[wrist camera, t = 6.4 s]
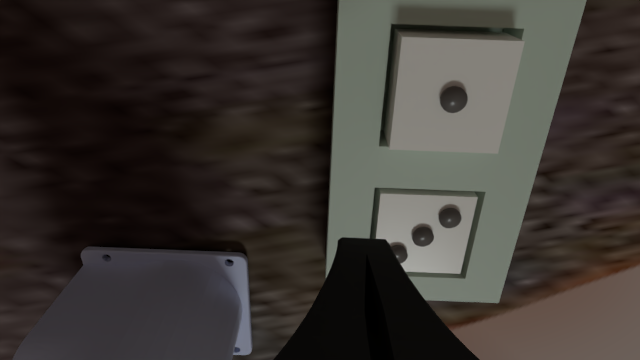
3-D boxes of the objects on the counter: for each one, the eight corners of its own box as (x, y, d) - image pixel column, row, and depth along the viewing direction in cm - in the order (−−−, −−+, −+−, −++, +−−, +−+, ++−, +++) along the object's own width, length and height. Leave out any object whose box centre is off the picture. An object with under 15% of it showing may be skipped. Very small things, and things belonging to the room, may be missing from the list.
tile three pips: (369, 246, 23) (372, 272, 22) (376, 173, 21) (381, 195, 20) (450, 249, 23) (461, 276, 22) (465, 177, 21) (479, 199, 19)
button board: (325, 260, 25) (325, 296, 23) (349, -248, 15) (352, -291, 12) (480, 266, 25) (498, 302, 22) (608, -240, 15) (668, -282, 12)
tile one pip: (384, 131, 19) (389, 151, 17) (394, 28, 17) (402, 37, 15) (482, 135, 19) (499, 155, 17) (504, 32, 17) (527, 42, 15)
